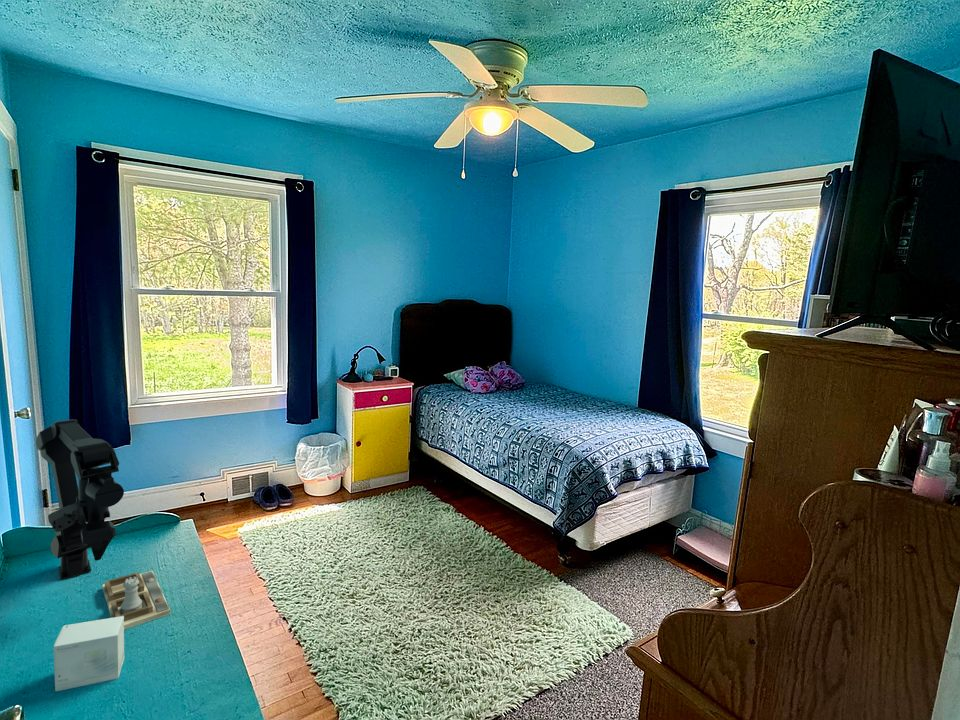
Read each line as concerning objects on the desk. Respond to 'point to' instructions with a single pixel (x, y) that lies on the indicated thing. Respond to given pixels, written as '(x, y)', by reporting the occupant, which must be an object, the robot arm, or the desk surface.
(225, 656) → the desk surface
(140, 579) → the board
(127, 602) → the rook chess piece
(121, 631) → the skincare box
